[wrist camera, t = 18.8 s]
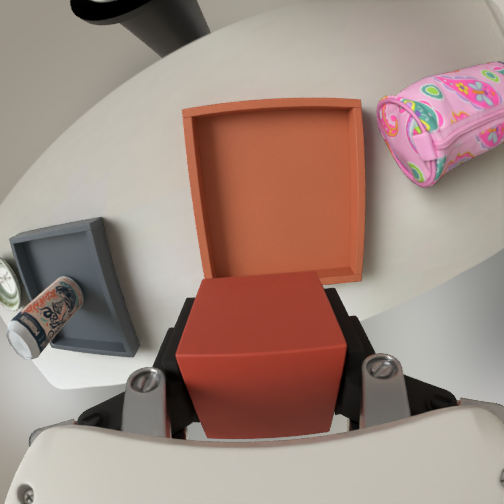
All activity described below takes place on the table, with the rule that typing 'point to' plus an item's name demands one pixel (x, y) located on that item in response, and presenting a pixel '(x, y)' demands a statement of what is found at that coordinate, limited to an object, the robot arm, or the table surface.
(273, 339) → the red block
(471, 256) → the table surface
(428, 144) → the pencil case
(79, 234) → the grey tray
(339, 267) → the terracotta tray
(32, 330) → the beer can
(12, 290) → the saucer
